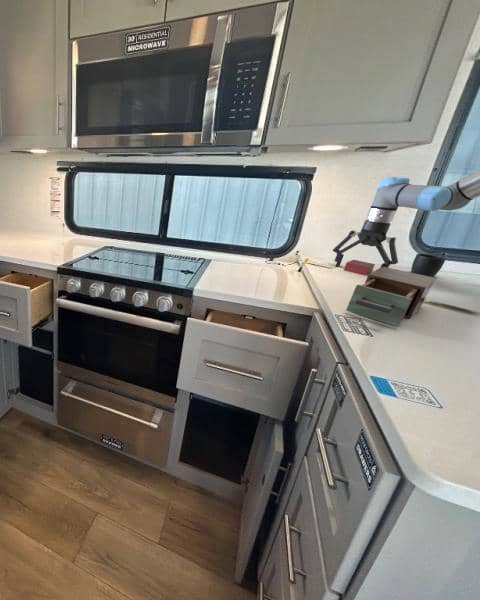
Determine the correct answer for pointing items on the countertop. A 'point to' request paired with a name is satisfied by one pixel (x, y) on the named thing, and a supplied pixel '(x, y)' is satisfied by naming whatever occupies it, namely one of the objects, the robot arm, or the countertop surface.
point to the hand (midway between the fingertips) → (355, 274)
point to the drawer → (382, 301)
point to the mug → (427, 264)
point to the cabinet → (406, 284)
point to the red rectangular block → (359, 267)
